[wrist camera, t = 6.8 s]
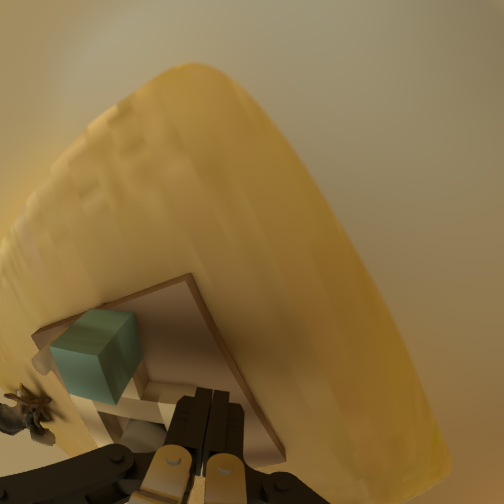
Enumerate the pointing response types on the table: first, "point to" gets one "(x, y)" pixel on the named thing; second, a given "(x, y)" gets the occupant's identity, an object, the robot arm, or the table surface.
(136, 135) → the table surface
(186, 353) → the post board
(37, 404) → the brown squirrel figurine
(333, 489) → the table surface
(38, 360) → the dowel pin
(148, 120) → the table surface
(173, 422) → the robot arm
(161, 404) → the square frame with handle
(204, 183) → the table surface
